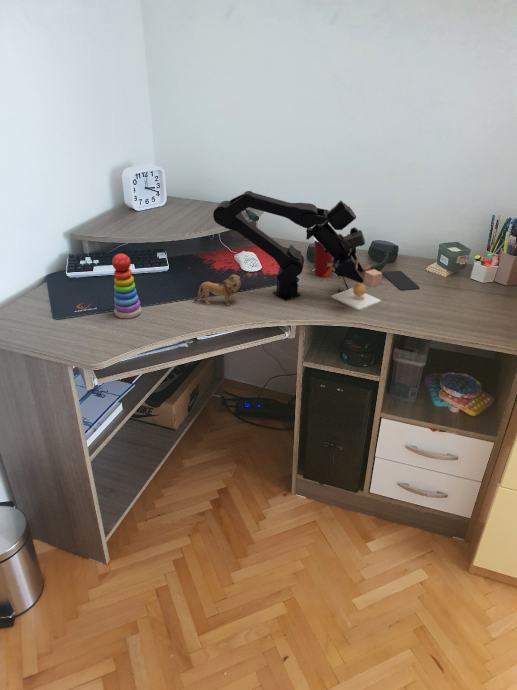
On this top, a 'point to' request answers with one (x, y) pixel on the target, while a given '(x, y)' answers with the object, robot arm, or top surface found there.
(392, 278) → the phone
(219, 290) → the lion figurine
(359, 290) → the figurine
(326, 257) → the paper cup
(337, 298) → the mat
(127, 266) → the stacking toy
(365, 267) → the walnut block
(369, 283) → the terracotta block
